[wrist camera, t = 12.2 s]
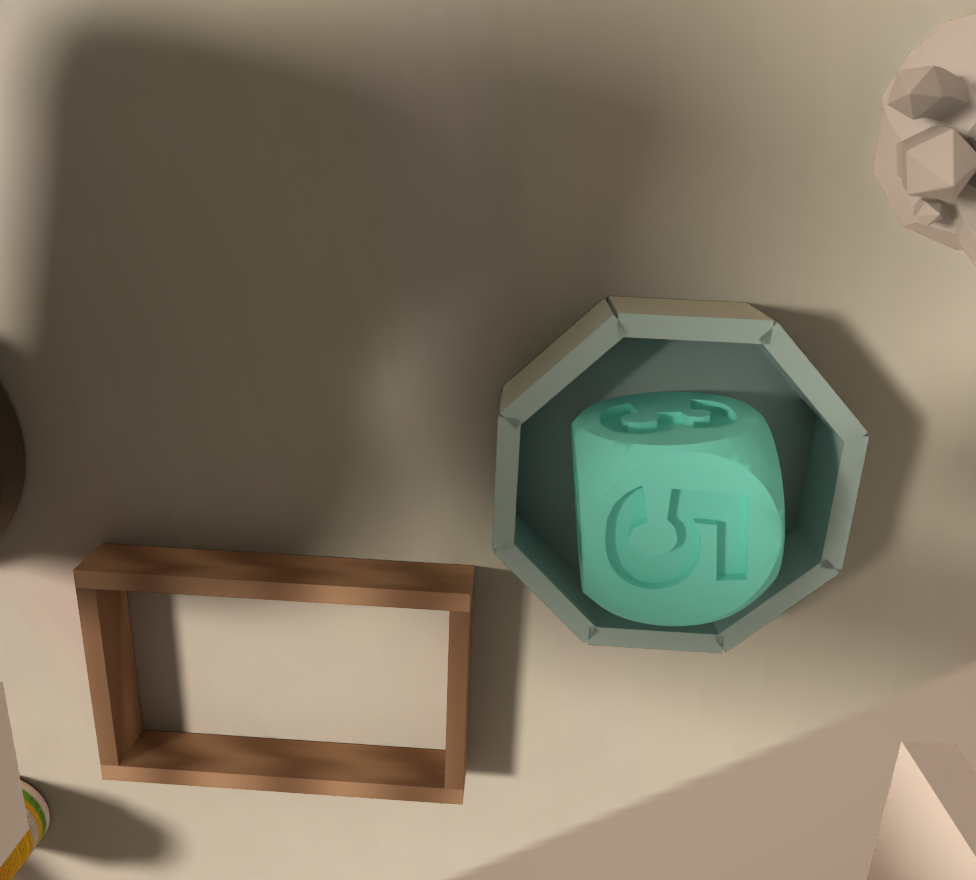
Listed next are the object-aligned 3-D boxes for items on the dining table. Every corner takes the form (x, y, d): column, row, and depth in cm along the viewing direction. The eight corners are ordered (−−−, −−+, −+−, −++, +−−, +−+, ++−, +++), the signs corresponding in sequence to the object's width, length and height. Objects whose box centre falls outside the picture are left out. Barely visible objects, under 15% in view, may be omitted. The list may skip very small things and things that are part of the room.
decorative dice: (736, 538, 41) (783, 624, 33) (576, 547, 41) (587, 633, 34) (739, 385, 38) (790, 440, 31) (568, 396, 39) (578, 452, 31)
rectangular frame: (128, 742, 48) (102, 779, 45) (102, 543, 44) (73, 570, 41) (466, 765, 47) (462, 804, 44) (474, 565, 43) (470, 594, 40)
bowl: (492, 591, 43) (487, 638, 39) (506, 291, 38) (503, 307, 34) (794, 610, 43) (823, 659, 39) (850, 307, 38) (891, 326, 33)
